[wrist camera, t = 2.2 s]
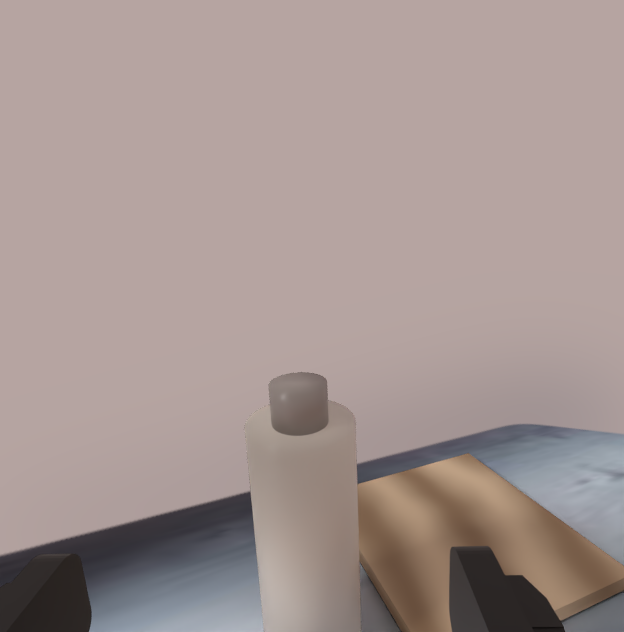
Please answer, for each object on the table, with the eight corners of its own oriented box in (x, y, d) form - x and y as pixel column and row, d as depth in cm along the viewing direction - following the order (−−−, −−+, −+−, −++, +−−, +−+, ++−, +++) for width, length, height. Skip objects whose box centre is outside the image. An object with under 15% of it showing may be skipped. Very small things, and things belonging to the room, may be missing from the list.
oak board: (432, 683, 21) (433, 668, 21) (325, 503, 35) (324, 493, 35) (631, 586, 26) (633, 573, 26) (467, 462, 40) (468, 453, 39)
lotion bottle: (248, 678, 22) (217, 399, 18) (290, 593, 26) (273, 360, 23) (345, 720, 20) (332, 415, 16) (372, 620, 24) (367, 368, 21)
